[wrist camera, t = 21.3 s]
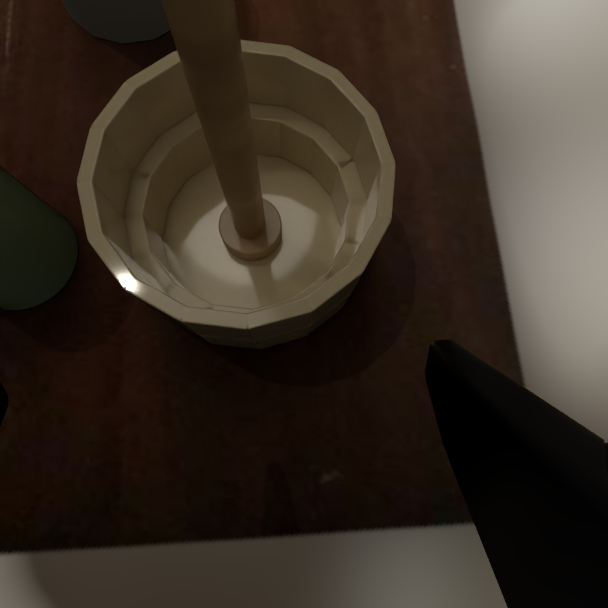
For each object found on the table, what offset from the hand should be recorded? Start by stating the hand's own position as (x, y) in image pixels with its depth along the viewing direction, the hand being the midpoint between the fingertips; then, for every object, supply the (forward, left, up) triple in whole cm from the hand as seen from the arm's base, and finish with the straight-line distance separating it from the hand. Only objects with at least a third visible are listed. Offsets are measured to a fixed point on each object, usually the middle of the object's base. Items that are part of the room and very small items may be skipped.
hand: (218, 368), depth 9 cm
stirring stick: (+7, -4, -13) cm, 15 cm away
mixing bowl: (+7, -5, -13) cm, 15 cm away
